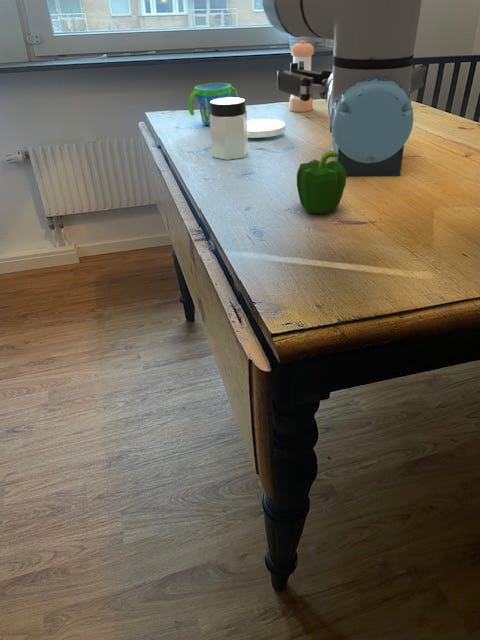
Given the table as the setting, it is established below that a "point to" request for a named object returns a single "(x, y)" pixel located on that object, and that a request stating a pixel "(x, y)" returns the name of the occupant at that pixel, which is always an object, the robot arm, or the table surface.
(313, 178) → the bell pepper
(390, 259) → the table surface
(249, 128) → the plastic lid
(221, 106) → the jar
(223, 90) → the snack cup
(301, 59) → the pepper shaker
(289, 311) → the table surface
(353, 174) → the box
